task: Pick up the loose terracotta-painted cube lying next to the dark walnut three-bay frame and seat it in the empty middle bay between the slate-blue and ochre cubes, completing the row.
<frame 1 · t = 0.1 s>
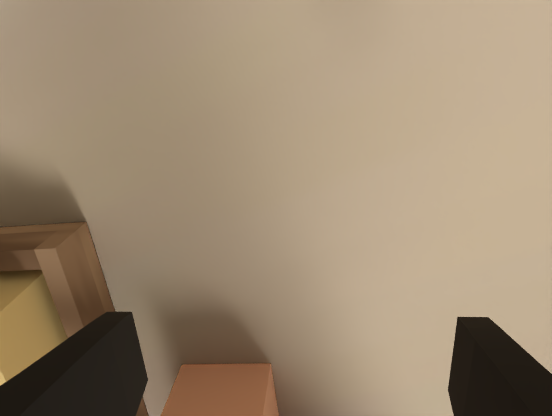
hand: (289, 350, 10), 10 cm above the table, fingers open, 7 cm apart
frame: (78, 398, 26), on the table
ochre cube: (27, 305, 22), point 1 cm above the table, touching frame
terracotta cube: (232, 396, 24), on the table
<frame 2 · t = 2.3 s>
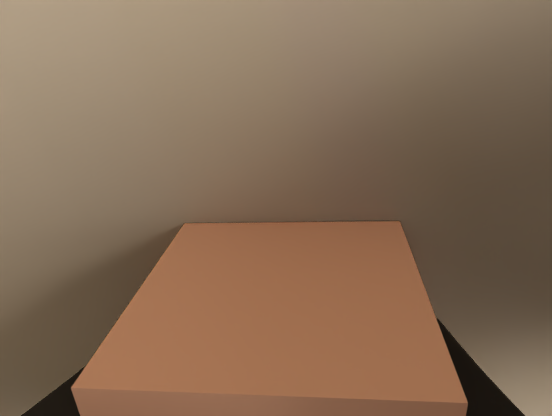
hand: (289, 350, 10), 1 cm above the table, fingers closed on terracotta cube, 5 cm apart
terracotta cube: (293, 310, 11), on the table, touching gripper
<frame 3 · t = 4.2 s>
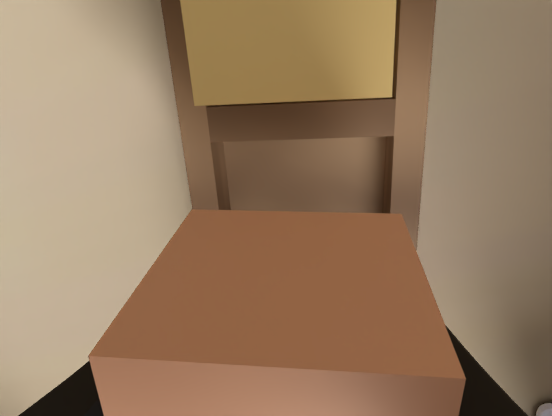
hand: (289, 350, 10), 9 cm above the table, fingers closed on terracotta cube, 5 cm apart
frame: (305, 195, 18), on the table
ochre cube: (297, 0, 14), point 1 cm above the table, touching frame
terracotta cube: (294, 298, 11), point 7 cm above the table, touching gripper
when the fingers open (3 cm above the table, at t = 6.1 s): terracotta cube stays where it is, resting on frame.
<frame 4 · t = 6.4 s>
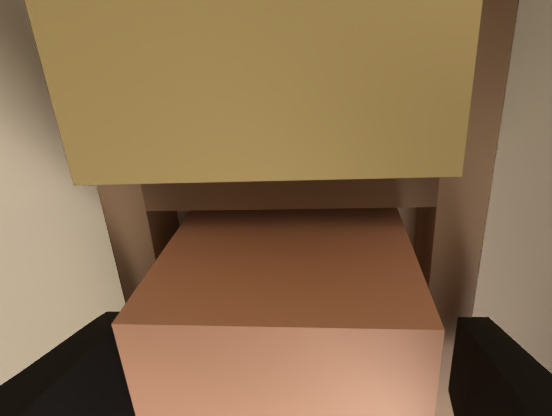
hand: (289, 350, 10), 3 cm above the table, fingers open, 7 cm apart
frame: (298, 269, 13), on the table
terracotta cube: (296, 281, 12), point 1 cm above the table, touching frame
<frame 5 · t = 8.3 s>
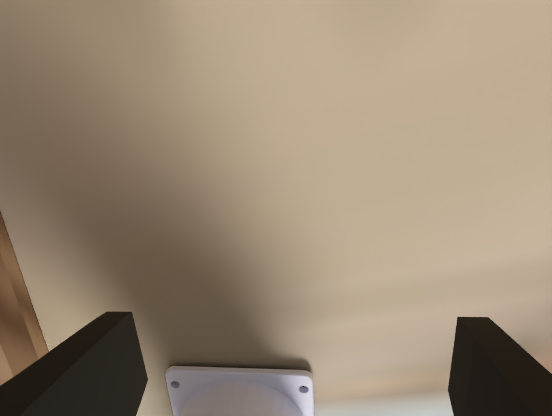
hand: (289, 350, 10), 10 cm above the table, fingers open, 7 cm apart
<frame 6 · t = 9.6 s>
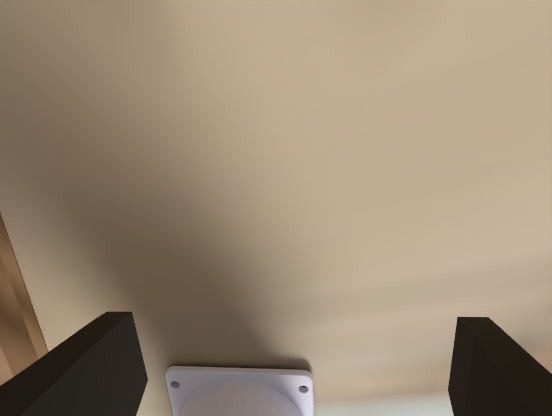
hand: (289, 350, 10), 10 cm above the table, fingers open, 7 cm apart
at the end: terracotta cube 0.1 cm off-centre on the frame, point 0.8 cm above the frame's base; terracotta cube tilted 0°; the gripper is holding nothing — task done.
